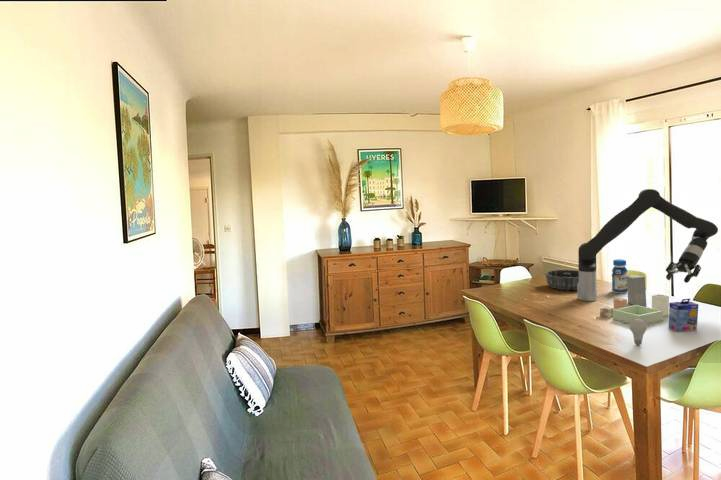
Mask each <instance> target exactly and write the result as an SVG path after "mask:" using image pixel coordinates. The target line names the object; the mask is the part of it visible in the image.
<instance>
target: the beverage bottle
mask: <svg viewBox="0 0 721 480" xmlns="http://www.w3.org/2000/svg"><path fill="white" fill-rule="evenodd" d="M612 263H613V264H612V265H613V267H612V270H611V272H612V273H611V287H612V288H611V292H612V293H613V294H614V293H615V294H626V293H627V278H626V276H629V275H628V269H627V267H626V266H627V260H626V259H620V258H619V259H614V260H612Z"/></svg>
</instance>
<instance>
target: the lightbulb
mask: <svg viewBox="0 0 721 480" xmlns="http://www.w3.org/2000/svg"><path fill="white" fill-rule="evenodd" d="M628 325H629V330H630V331H631V333H632V335H633V340H634V341H633V343H634V344H635V345H636V346H641V345H642V344H643V338H644V335H645V333H646V332H647V331H648V324H647V325H646V323H645V322H644V321H643V320H641V319H634V320H632V321H631V322H630V324H628Z"/></svg>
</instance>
